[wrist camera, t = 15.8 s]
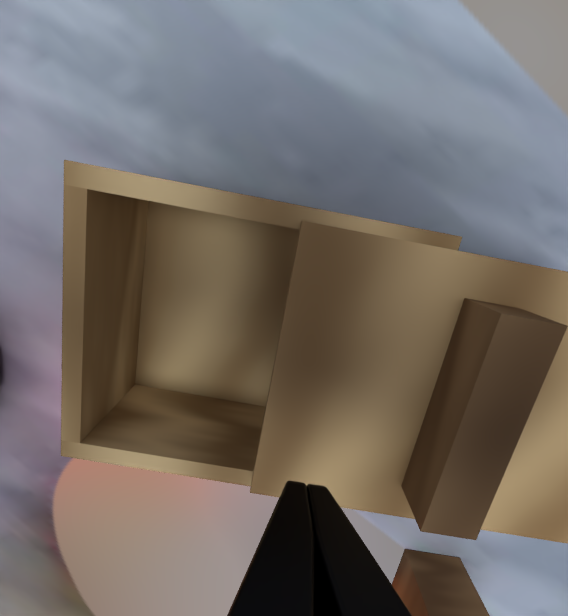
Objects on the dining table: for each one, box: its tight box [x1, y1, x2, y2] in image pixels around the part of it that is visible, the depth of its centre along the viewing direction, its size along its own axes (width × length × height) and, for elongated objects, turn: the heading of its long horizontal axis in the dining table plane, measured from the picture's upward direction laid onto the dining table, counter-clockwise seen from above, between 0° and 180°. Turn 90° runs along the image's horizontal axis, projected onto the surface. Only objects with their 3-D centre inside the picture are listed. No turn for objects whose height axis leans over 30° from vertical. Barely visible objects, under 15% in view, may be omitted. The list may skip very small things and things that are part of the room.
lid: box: [250, 221, 568, 543], centre depth 12 cm, size 14×11×3 cm
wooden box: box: [61, 160, 462, 486], centre depth 16 cm, size 26×12×6 cm, turn 79°
